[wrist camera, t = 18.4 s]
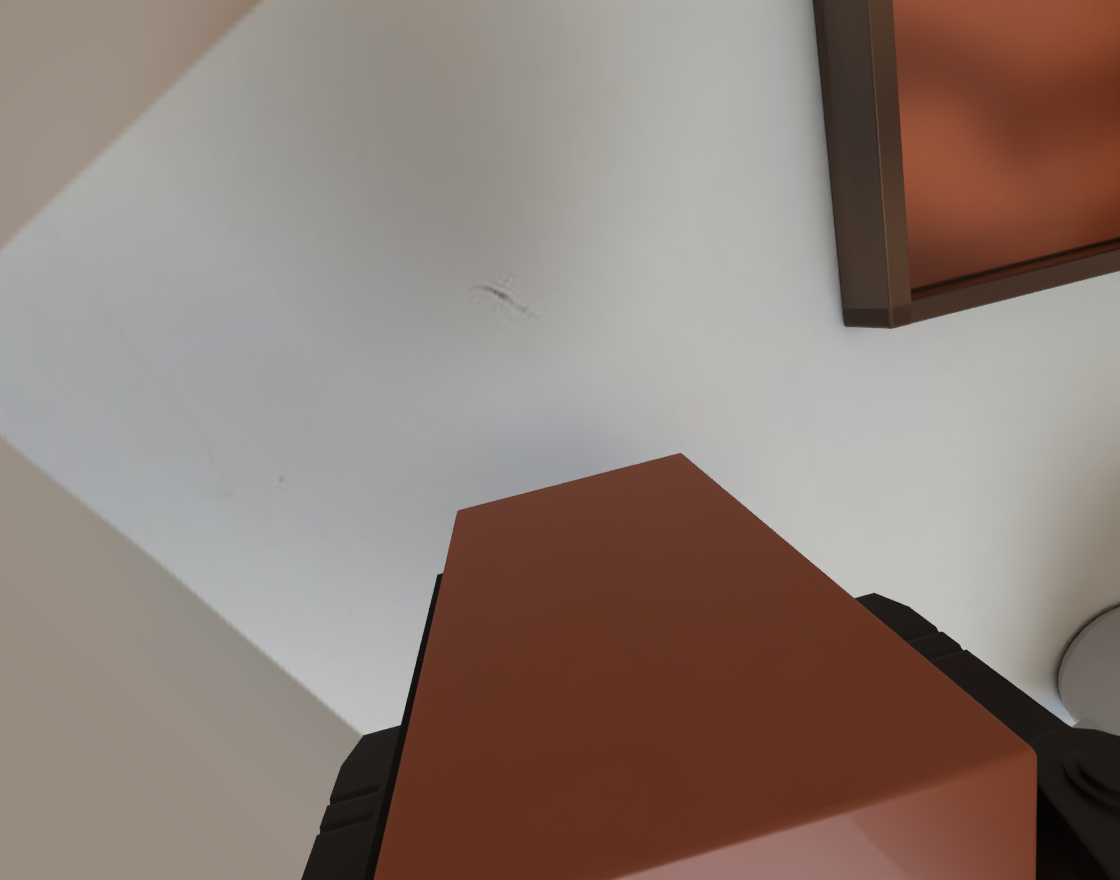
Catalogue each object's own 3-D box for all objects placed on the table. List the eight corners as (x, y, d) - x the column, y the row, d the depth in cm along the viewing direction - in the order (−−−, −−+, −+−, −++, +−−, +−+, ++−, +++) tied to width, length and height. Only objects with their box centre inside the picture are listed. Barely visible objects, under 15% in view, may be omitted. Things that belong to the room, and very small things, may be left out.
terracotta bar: (456, 509, 11) (353, 949, 4) (681, 451, 12) (1042, 751, 4) (515, 699, 13) (531, 1319, 5) (715, 644, 13) (1035, 1156, 5)
